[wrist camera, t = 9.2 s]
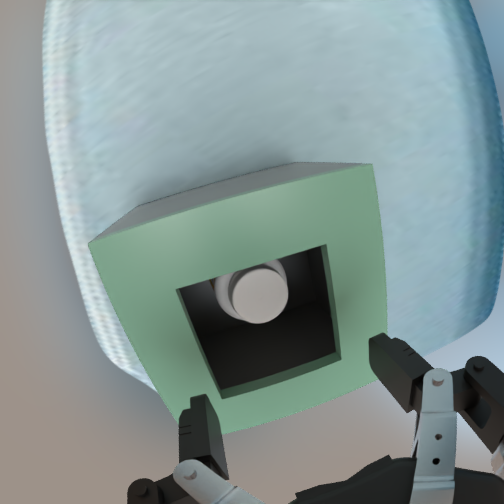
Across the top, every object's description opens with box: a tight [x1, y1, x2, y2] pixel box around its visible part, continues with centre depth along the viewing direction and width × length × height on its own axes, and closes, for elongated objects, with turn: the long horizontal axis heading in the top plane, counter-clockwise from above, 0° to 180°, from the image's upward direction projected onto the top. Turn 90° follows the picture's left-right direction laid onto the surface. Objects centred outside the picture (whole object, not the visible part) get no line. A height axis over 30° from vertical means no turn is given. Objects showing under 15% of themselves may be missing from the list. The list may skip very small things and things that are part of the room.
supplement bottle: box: [209, 259, 288, 323], centre depth 25 cm, size 6×6×10 cm
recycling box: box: [88, 162, 387, 434], centre depth 24 cm, size 16×16×14 cm
